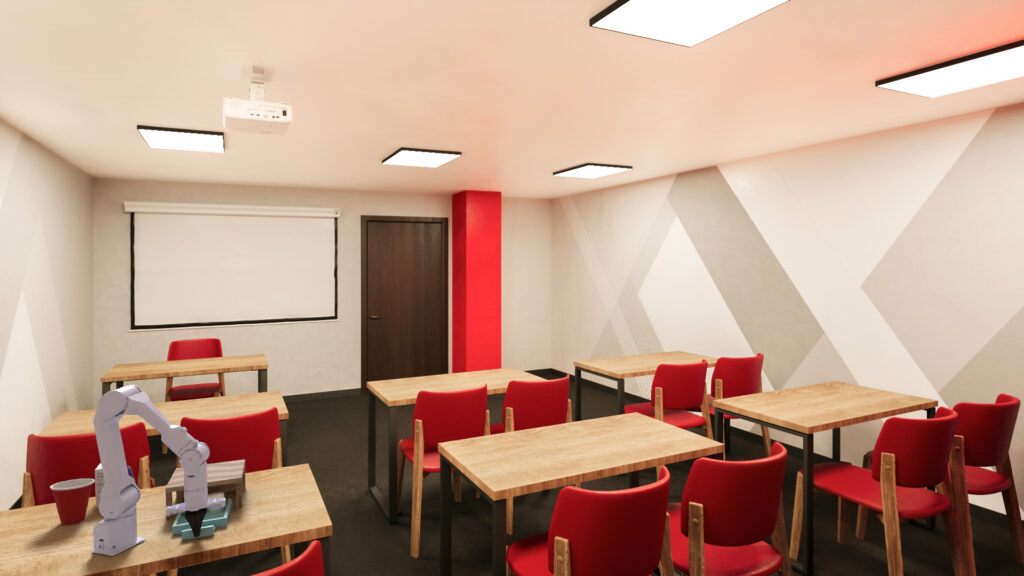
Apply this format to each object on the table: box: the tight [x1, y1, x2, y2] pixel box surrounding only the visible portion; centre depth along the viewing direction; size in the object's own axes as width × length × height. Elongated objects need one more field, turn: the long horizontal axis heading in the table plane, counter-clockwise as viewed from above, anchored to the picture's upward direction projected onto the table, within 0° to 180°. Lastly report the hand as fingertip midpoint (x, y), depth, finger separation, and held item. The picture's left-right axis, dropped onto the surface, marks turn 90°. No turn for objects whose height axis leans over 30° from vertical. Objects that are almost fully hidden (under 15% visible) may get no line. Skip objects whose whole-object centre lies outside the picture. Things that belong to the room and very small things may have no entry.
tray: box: [171, 492, 232, 541], centre depth 167 cm, size 21×14×6 cm, turn 23°
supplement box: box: [94, 462, 105, 508], centre depth 184 cm, size 7×7×13 cm
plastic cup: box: [49, 478, 95, 526], centre depth 170 cm, size 11×11×12 cm
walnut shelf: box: [164, 459, 247, 521], centre depth 182 cm, size 20×21×10 cm
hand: (197, 535), depth 156 cm, fingers closed, pressing on tray
